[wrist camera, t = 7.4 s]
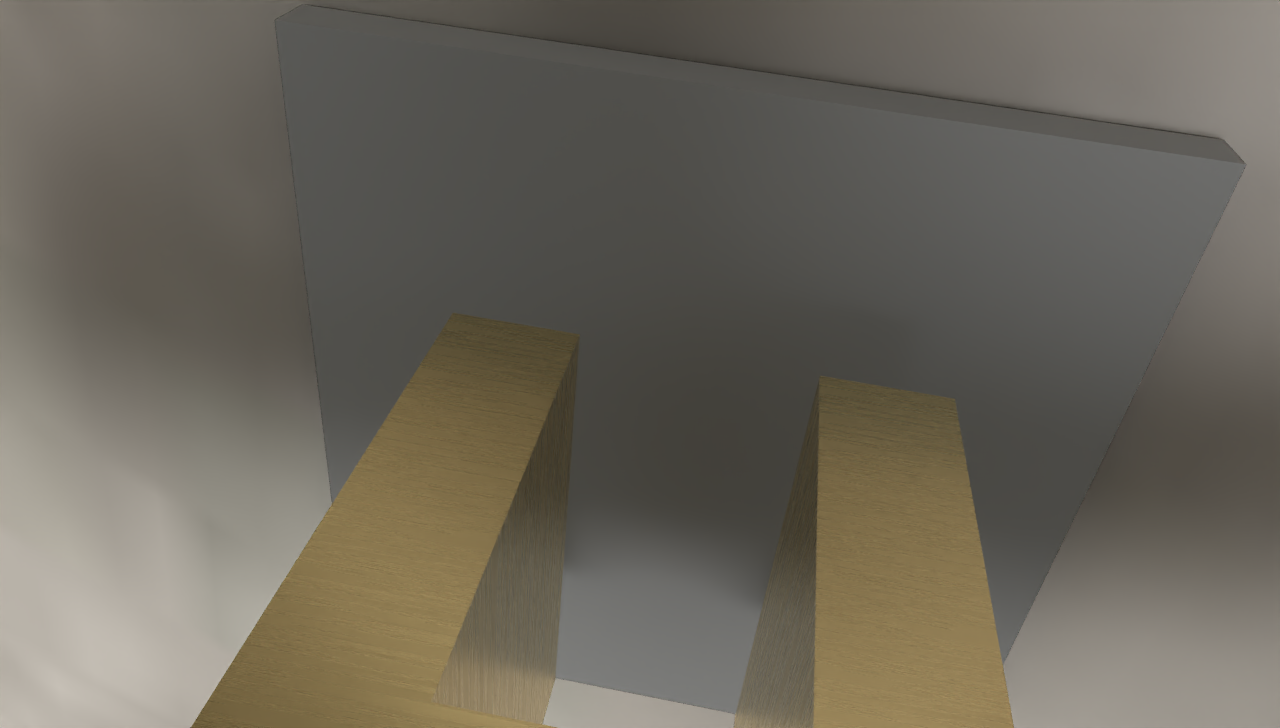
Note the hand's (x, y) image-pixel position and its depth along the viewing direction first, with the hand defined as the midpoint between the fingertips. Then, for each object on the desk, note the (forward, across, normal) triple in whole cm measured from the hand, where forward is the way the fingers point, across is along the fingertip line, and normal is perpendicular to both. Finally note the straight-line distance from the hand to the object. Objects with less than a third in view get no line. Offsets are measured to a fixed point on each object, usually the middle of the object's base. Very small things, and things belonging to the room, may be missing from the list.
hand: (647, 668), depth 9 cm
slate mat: (+4, 0, 0) cm, 4 cm away
